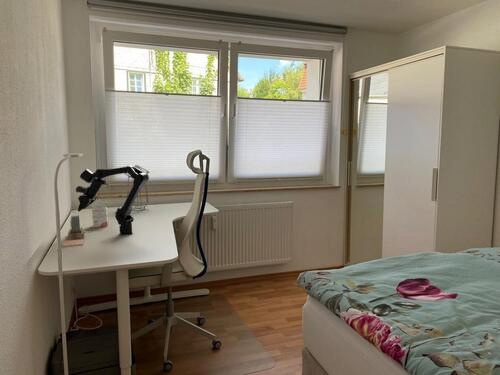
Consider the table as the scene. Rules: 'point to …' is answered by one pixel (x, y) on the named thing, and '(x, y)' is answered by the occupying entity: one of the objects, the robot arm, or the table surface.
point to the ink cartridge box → (99, 215)
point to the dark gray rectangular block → (75, 224)
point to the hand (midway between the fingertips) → (80, 209)
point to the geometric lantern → (140, 191)
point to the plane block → (76, 234)
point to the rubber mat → (72, 243)
